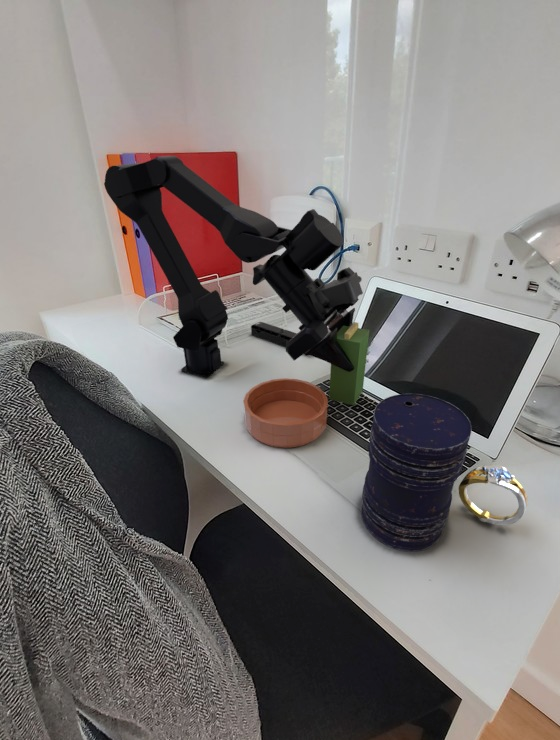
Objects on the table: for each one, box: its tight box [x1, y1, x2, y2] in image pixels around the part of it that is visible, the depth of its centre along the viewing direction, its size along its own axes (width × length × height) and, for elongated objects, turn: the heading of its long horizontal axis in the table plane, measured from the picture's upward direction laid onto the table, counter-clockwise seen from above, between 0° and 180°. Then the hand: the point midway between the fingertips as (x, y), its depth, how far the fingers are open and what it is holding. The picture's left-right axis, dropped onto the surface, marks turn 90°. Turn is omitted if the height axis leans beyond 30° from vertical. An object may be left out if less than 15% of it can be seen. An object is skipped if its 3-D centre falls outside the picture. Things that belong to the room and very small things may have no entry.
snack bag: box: [328, 322, 370, 406], centre depth 68 cm, size 4×5×12 cm
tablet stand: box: [250, 321, 310, 357], centre depth 92 cm, size 18×3×3 cm, turn 49°
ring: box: [457, 464, 528, 526], centre depth 48 cm, size 7×3×8 cm, turn 47°
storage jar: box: [360, 393, 473, 552], centre depth 46 cm, size 10×10×15 cm
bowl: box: [243, 377, 329, 449], centre depth 66 cm, size 13×13×4 cm
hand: (357, 362), depth 67 cm, fingers closed on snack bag, 5 cm apart
